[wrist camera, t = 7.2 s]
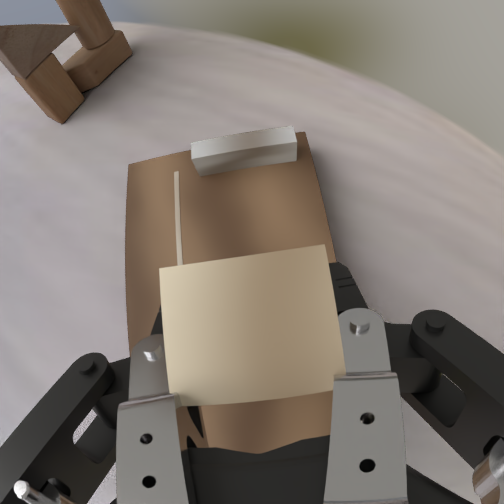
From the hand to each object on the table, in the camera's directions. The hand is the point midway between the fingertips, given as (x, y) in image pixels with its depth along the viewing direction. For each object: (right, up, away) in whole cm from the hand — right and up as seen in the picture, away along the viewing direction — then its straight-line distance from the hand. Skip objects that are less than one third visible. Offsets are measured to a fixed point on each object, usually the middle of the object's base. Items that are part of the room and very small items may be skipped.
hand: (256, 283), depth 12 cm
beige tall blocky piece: (+1, -3, +3) cm, 4 cm away
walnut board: (-1, -5, +6) cm, 8 cm away
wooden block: (-17, +19, +15) cm, 30 cm away
